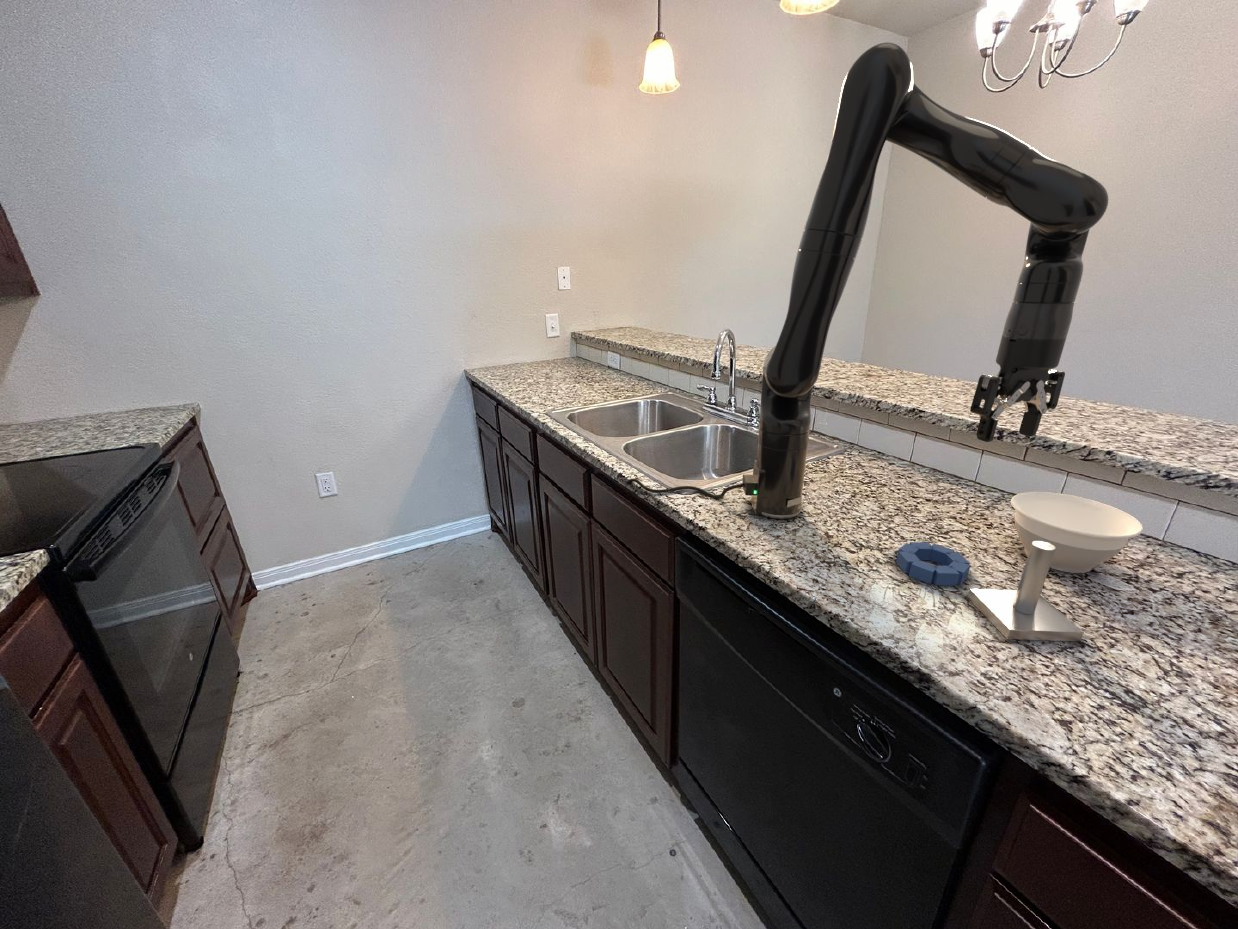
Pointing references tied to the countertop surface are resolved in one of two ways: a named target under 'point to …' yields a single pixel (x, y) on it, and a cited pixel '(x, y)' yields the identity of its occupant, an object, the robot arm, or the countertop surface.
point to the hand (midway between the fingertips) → (1005, 437)
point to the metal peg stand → (1027, 604)
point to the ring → (939, 575)
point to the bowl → (1073, 528)
